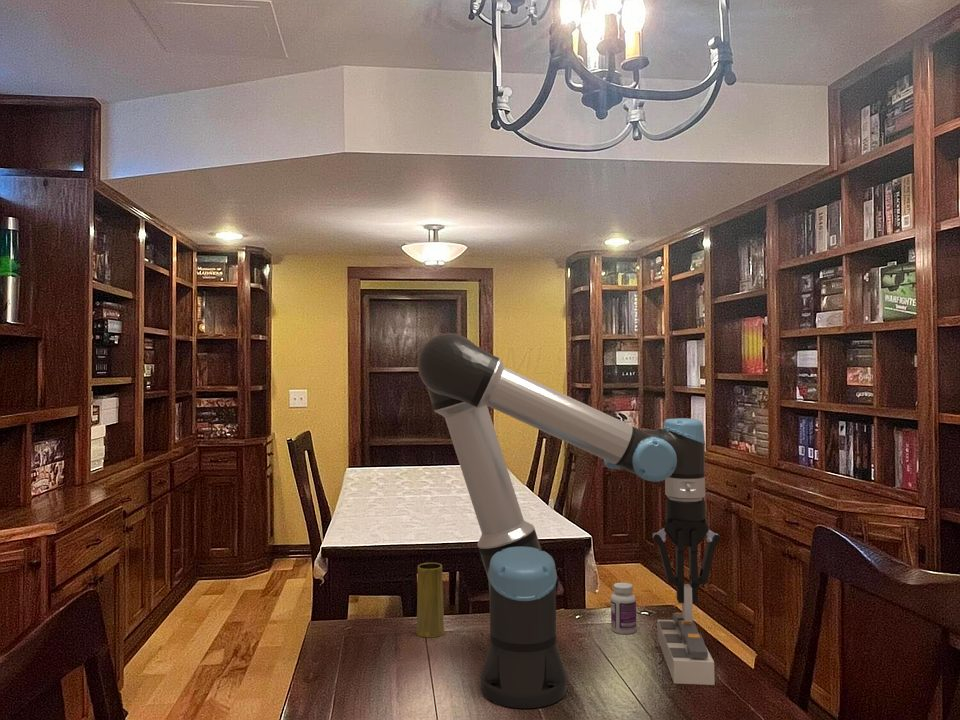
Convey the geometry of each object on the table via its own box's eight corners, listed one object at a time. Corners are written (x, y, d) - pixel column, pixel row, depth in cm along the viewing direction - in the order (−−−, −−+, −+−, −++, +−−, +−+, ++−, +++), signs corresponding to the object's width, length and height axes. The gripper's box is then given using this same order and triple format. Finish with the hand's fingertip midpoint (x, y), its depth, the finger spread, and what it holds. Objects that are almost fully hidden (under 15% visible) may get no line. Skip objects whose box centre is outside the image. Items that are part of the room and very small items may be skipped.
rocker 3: (690, 657, 128) (690, 650, 128) (684, 639, 134) (684, 632, 134) (707, 658, 128) (707, 651, 128) (701, 639, 134) (701, 633, 133)
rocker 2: (683, 642, 135) (683, 636, 135) (678, 625, 141) (678, 619, 141) (699, 643, 135) (700, 636, 134) (693, 626, 141) (694, 620, 140)
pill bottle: (640, 628, 155) (639, 583, 155) (631, 636, 150) (630, 590, 150) (616, 624, 157) (615, 579, 158) (607, 631, 153) (606, 586, 153)
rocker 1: (677, 624, 142) (677, 617, 142) (672, 619, 148) (672, 612, 148) (693, 624, 141) (692, 617, 142) (687, 619, 147) (687, 612, 148)
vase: (413, 629, 155) (412, 563, 155) (440, 626, 157) (440, 560, 157) (419, 639, 149) (419, 570, 149) (448, 636, 151) (447, 568, 151)
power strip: (674, 683, 128) (673, 656, 128) (657, 638, 149) (657, 616, 149) (714, 685, 127) (714, 658, 127) (692, 640, 148) (692, 617, 148)
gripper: (653, 501, 137) (655, 625, 137) (724, 501, 136) (726, 627, 135) (648, 494, 145) (650, 612, 144) (715, 494, 143) (717, 613, 143)
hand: (687, 619), depth 140 cm, fingers closed
